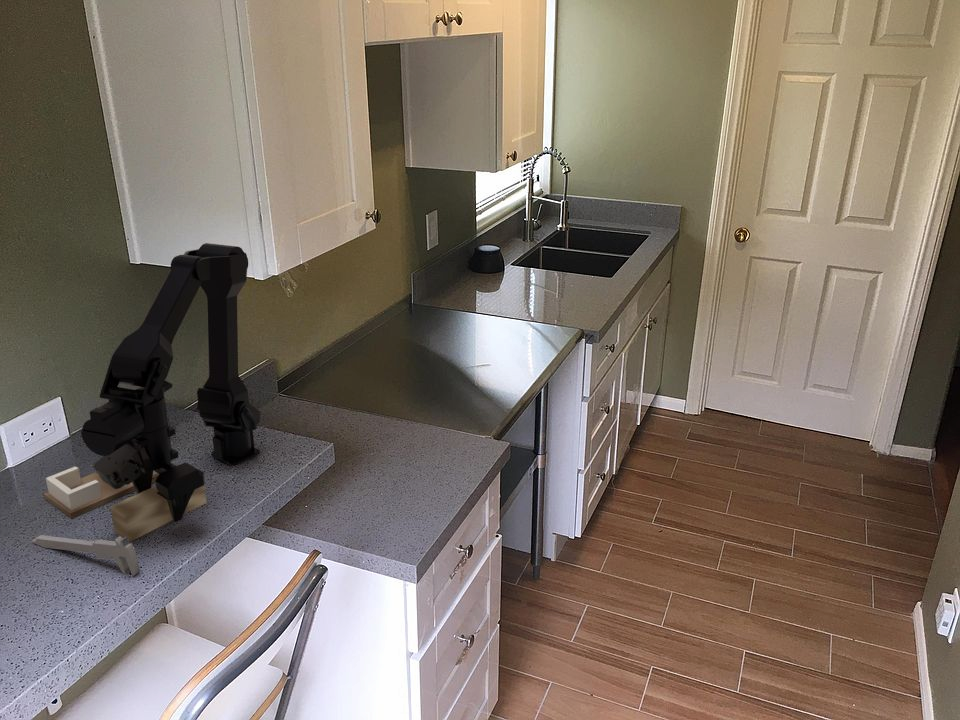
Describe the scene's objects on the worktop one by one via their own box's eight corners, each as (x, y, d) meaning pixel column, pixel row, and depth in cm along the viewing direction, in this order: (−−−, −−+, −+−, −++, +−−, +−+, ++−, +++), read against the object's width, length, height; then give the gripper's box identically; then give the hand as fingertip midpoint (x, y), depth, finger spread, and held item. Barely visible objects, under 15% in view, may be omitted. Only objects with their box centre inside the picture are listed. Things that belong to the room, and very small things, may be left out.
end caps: (148, 453, 144) (146, 438, 142) (172, 466, 139) (170, 452, 138) (48, 493, 130) (45, 478, 129) (71, 510, 126) (68, 494, 125)
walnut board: (150, 455, 145) (149, 450, 144) (177, 471, 140) (177, 467, 139) (44, 498, 131) (43, 493, 130) (71, 518, 126) (70, 513, 125)
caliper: (140, 574, 114) (134, 538, 112) (135, 578, 113) (128, 542, 111) (36, 540, 121) (28, 506, 118) (30, 544, 120) (22, 509, 117)
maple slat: (192, 495, 133) (189, 470, 131) (206, 504, 131) (203, 478, 129) (114, 533, 123) (110, 506, 121) (129, 543, 121) (124, 516, 119)
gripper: (65, 424, 120) (82, 510, 126) (131, 465, 109) (146, 557, 115) (134, 400, 128) (147, 482, 134) (201, 436, 117) (212, 523, 123)
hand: (161, 510), depth 126 cm, fingers open, 9 cm apart
